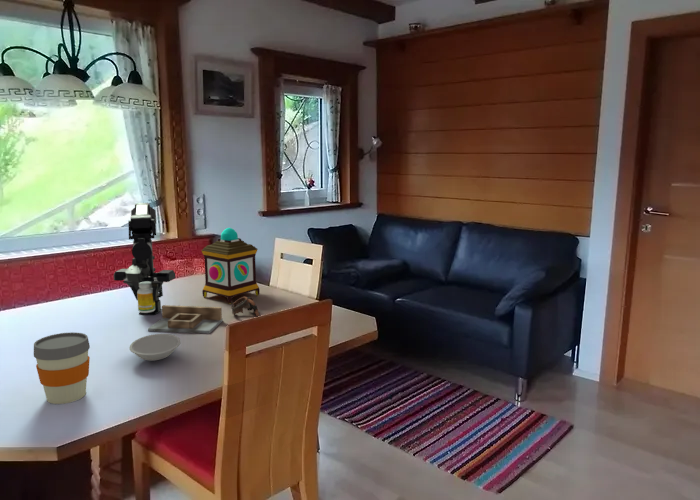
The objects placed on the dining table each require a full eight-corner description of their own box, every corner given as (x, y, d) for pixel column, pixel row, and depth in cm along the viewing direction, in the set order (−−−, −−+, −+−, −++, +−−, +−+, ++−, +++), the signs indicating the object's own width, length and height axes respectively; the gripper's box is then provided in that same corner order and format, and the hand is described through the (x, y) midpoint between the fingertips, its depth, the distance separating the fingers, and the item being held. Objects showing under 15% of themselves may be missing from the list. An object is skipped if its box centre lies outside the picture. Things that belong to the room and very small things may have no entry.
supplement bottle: (137, 309, 181) (135, 281, 179) (154, 307, 183) (152, 280, 181) (139, 313, 176) (137, 285, 174) (156, 311, 178) (154, 283, 176)
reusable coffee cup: (66, 382, 146) (61, 330, 143) (104, 389, 142) (100, 334, 140) (26, 403, 134) (20, 346, 131) (67, 410, 130) (61, 352, 128)
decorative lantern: (233, 288, 246) (231, 223, 240) (264, 295, 234) (262, 227, 229) (197, 297, 230) (194, 228, 224) (229, 305, 218) (226, 232, 213)
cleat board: (148, 331, 187) (147, 316, 186) (165, 318, 201) (164, 304, 200) (209, 333, 185) (208, 318, 184) (222, 320, 199) (222, 306, 198)
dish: (178, 369, 156) (177, 352, 155) (125, 372, 153) (124, 356, 152) (183, 347, 172) (183, 332, 172) (136, 350, 170) (135, 335, 169)
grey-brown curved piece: (258, 320, 201) (246, 303, 198) (237, 329, 204) (225, 313, 201) (264, 303, 212) (253, 287, 209) (244, 312, 215) (233, 296, 212)
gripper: (102, 258, 169) (106, 306, 172) (160, 260, 167) (163, 308, 170) (120, 251, 180) (124, 297, 183) (174, 253, 178) (177, 298, 181)
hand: (146, 300), depth 179 cm, fingers closed on supplement bottle, 5 cm apart
